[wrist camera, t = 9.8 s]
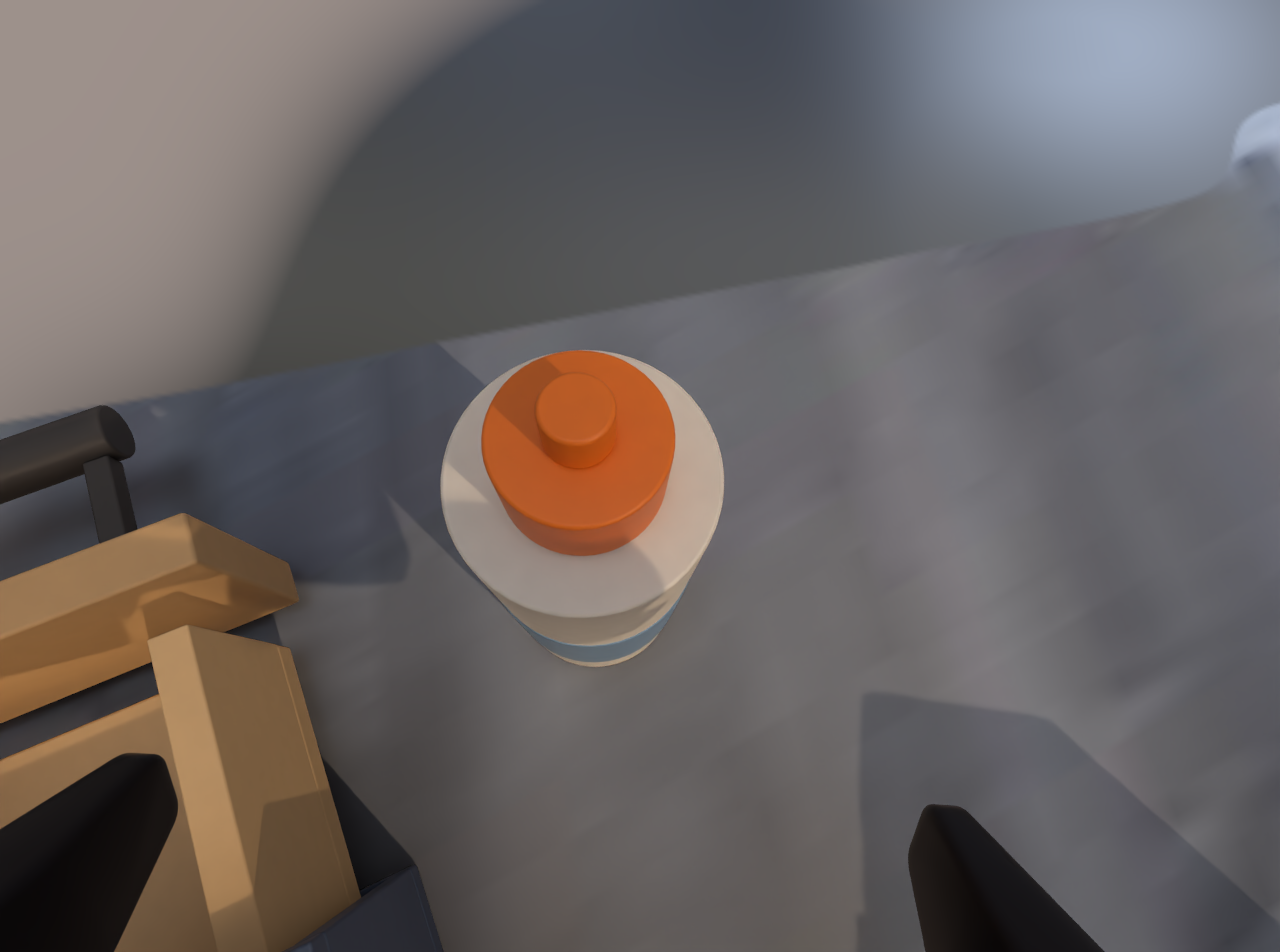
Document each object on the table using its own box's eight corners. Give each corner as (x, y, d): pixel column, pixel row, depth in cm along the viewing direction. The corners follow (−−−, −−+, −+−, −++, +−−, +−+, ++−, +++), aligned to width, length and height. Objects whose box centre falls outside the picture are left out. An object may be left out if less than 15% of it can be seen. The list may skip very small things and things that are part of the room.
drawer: (-123, 557, 19) (-371, 503, 14) (248, 423, 21) (138, 334, 16) (-31, 1362, 14) (-365, 1697, 9) (449, 1101, 16) (378, 1269, 11)
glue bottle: (699, 628, 20) (824, 498, 8) (553, 694, 19) (461, 656, 8) (635, 491, 21) (665, 208, 10) (496, 548, 21) (341, 321, 9)
